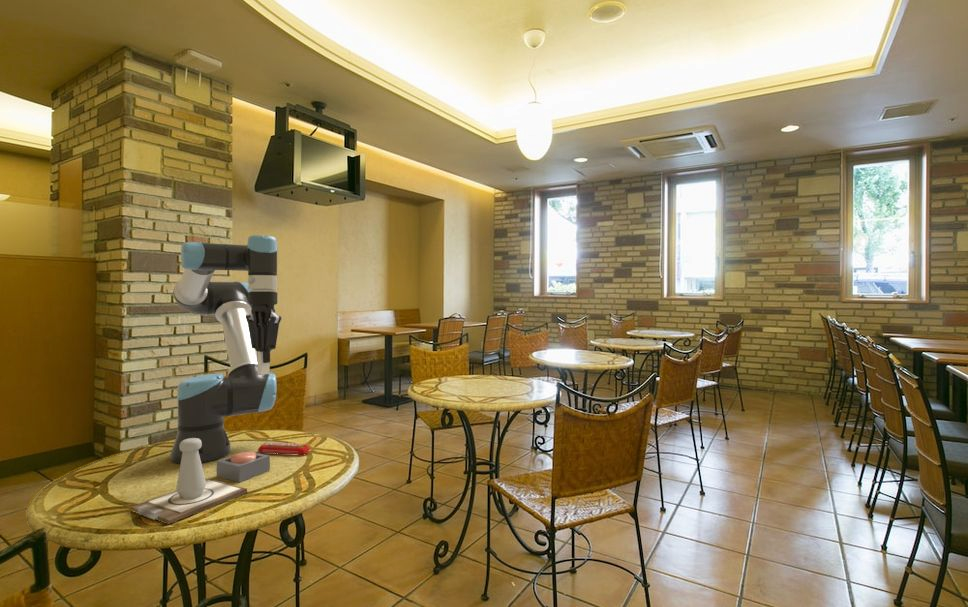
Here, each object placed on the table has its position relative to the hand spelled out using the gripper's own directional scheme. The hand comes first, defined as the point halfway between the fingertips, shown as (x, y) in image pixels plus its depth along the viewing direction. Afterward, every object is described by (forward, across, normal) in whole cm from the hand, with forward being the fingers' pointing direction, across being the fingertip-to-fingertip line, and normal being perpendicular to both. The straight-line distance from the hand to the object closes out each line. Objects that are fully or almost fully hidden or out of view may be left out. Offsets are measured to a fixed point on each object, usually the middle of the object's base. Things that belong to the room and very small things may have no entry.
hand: (263, 374), depth 137 cm
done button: (+23, +4, -9) cm, 25 cm away
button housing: (+25, +4, -9) cm, 27 cm away
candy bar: (+25, -1, +7) cm, 26 cm away
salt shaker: (+24, +10, -26) cm, 36 cm away
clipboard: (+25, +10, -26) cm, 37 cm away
